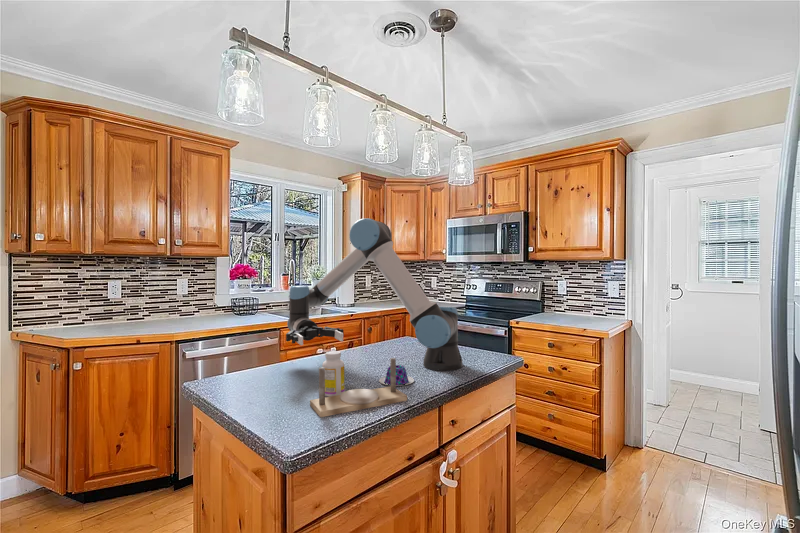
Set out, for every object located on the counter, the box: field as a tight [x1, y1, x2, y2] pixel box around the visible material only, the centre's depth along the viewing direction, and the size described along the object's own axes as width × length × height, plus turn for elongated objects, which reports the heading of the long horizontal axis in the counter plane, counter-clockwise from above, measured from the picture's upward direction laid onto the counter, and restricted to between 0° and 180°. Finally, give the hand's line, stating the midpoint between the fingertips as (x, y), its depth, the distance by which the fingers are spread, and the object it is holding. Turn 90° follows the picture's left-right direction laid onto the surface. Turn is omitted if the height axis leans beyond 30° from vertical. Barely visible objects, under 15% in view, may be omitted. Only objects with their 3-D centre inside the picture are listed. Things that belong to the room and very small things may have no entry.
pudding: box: [378, 364, 415, 387], centre depth 135 cm, size 12×12×5 cm
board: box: [309, 357, 408, 418], centre depth 114 cm, size 26×11×12 cm, turn 118°
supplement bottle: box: [322, 350, 346, 397], centre depth 122 cm, size 7×7×13 cm
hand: (322, 339), depth 131 cm, fingers open, 13 cm apart
